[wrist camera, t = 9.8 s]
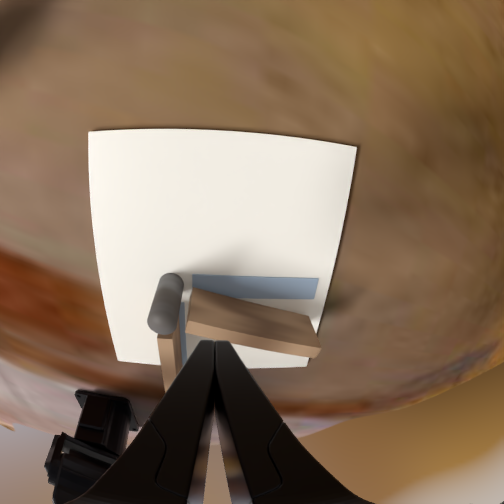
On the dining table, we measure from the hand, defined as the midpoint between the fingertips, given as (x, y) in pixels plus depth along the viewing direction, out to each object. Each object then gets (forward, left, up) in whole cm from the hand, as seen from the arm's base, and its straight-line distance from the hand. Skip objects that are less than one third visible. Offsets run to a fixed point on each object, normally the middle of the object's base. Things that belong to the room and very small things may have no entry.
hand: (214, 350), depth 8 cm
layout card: (-4, 0, -12) cm, 13 cm away
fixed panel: (-9, +3, -12) cm, 15 cm away
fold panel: (-7, -3, -11) cm, 13 cm away
